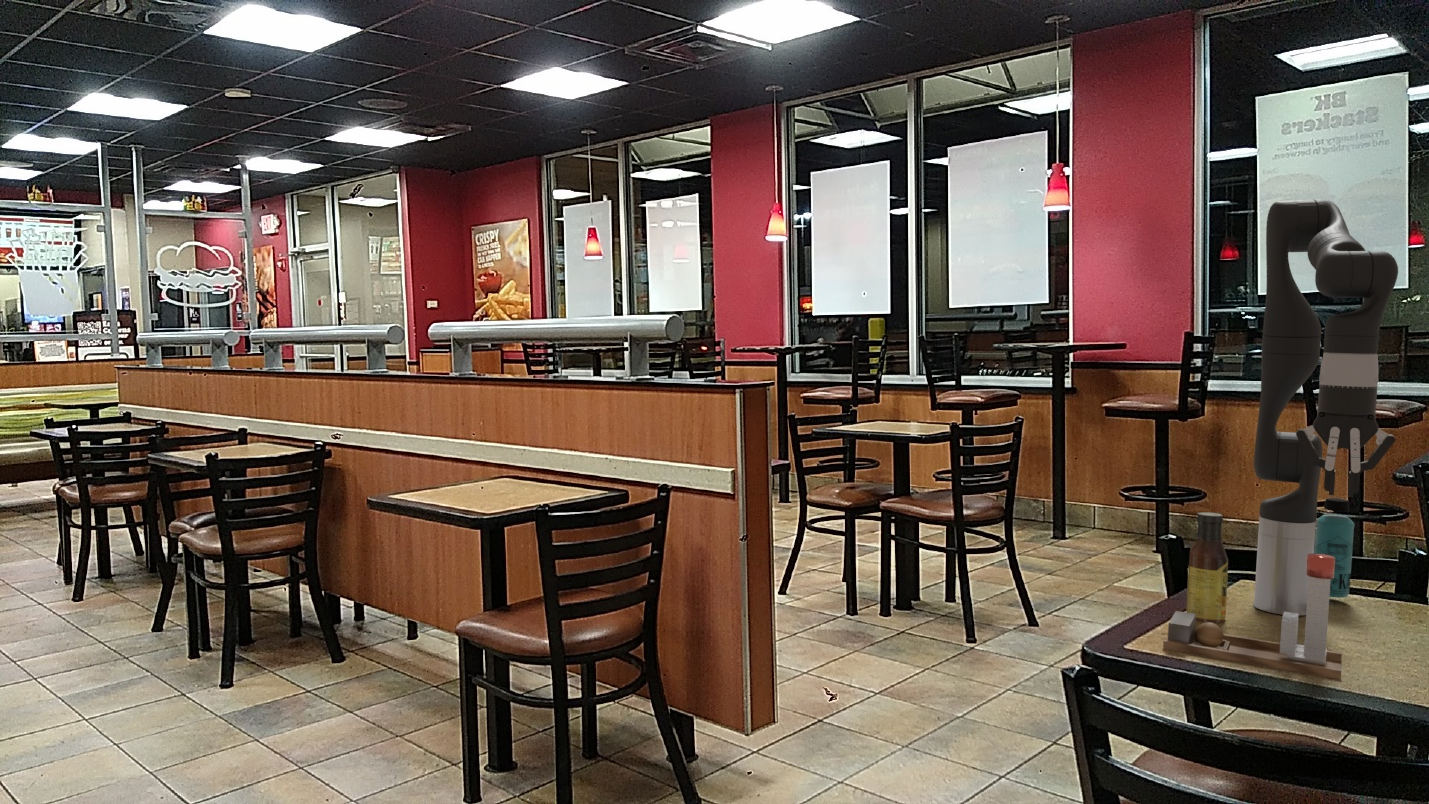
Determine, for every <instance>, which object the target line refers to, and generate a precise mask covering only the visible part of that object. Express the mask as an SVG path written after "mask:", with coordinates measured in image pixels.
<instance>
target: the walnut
mask: <svg viewBox="0 0 1429 804" xmlns="http://www.w3.org/2000/svg"><path fill="white" fill-rule="evenodd" d="M1196 629H1197V630H1196V638H1197V640H1198V642H1199V643H1200V644H1201V645H1204V646H1210V647H1217V646H1219V645H1220V644H1221V643H1222V641H1223V638H1224V635H1223V634H1224V632H1223V630H1222V628H1221V627H1220V626H1219V625H1218V624H1216V623H1211V622H1202V623H1201V624H1199V625H1198V626H1197V628H1196Z"/></svg>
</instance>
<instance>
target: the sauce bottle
mask: <svg viewBox="0 0 1429 804" xmlns="http://www.w3.org/2000/svg"><path fill="white" fill-rule="evenodd" d="M1223 518H1224V516H1223V514H1222V513H1217V512H1216V513H1215V512H1208V511H1207V512H1198V513H1197V516H1196V521H1197V534H1196V537H1197V540H1196V541H1195V542H1194V544H1193V545H1192V546H1191V548H1190V550H1189V560H1188V561H1189V562H1188V564H1189V565H1187V567H1188V568H1187V595H1186V596H1187V597H1186V600H1187V601H1186V613H1193V614H1196V621H1199V622H1202V623H1206V622H1211V623H1214V624H1216V623H1223V622H1225V620H1226V617H1227V597H1228V596H1227V595H1228V574H1229V573H1228V570H1229V558H1228V555H1227V552H1226V550H1225V549H1226V548H1225V545H1224V543H1223V539H1222V524H1223V523H1224V519H1223Z"/></svg>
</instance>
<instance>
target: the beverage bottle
mask: <svg viewBox="0 0 1429 804" xmlns="http://www.w3.org/2000/svg"><path fill="white" fill-rule="evenodd" d="M1323 509H1325V510H1326V511H1327V510H1328V511H1331V512H1332V511H1333V512H1341V513H1342V512H1350V501H1349V500H1348V499H1345V498H1338V497H1328V498H1325V502H1324V505H1323ZM1355 526H1356V525H1355V522H1354V521H1353V520H1352V519H1351V518H1350V517H1348V516H1344V515H1339V514H1322V515H1321V516H1320V517H1318V518H1316V534H1315V551H1314V554H1324V555H1329V556H1333V557H1335V568H1334V578H1333V579H1331V581H1330V595H1329V598H1347V597H1348V596H1349V594H1350V592H1351V591H1350V590H1351V574H1352V573H1353V572H1352V569H1353V568H1352V567H1353V566H1352V564H1353V552H1354V549H1353V545H1354V543H1353V542H1354V532H1355V531H1354V529H1355Z"/></svg>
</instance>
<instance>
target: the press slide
mask: <svg viewBox="0 0 1429 804" xmlns="http://www.w3.org/2000/svg"><path fill="white" fill-rule="evenodd" d="M1334 568H1335V557H1333V556H1329V555H1324V554H1308V555H1307V567H1306V575H1307V576H1309V581H1308V596H1307V611H1306V615H1305V626H1304V642H1303V643H1304V644H1298V630H1299V614H1297V613H1290V612H1284V613H1283V615H1282V619H1281V625H1280V626H1281V627H1280V641H1279V643H1280V653H1281V654H1287V661H1293V662H1299V663H1305V664H1311V665H1317V666H1323V667H1325V666H1326V652H1327V651H1328V650H1327V638H1328V624H1329V623H1328V622H1329V621H1328V620H1329V609H1330V608H1329V606H1330V597H1329V595H1330V581H1331V579H1333V578H1334Z"/></svg>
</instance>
